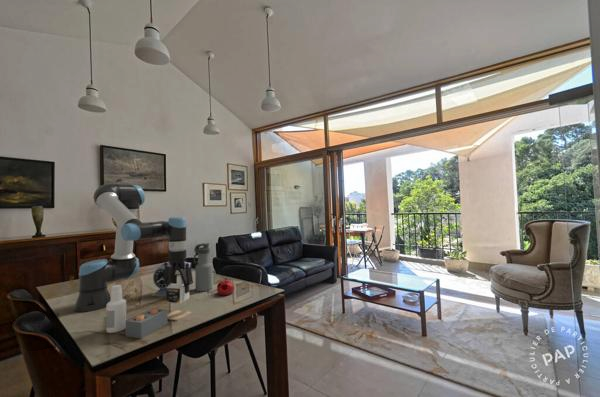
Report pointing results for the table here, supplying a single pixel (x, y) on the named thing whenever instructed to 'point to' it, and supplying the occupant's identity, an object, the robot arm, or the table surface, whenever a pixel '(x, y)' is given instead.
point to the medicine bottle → (175, 290)
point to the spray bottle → (116, 311)
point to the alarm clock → (160, 281)
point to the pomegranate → (225, 287)
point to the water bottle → (203, 268)
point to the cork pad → (177, 315)
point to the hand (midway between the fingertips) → (178, 299)
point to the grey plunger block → (146, 324)
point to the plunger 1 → (139, 317)
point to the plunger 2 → (154, 311)
